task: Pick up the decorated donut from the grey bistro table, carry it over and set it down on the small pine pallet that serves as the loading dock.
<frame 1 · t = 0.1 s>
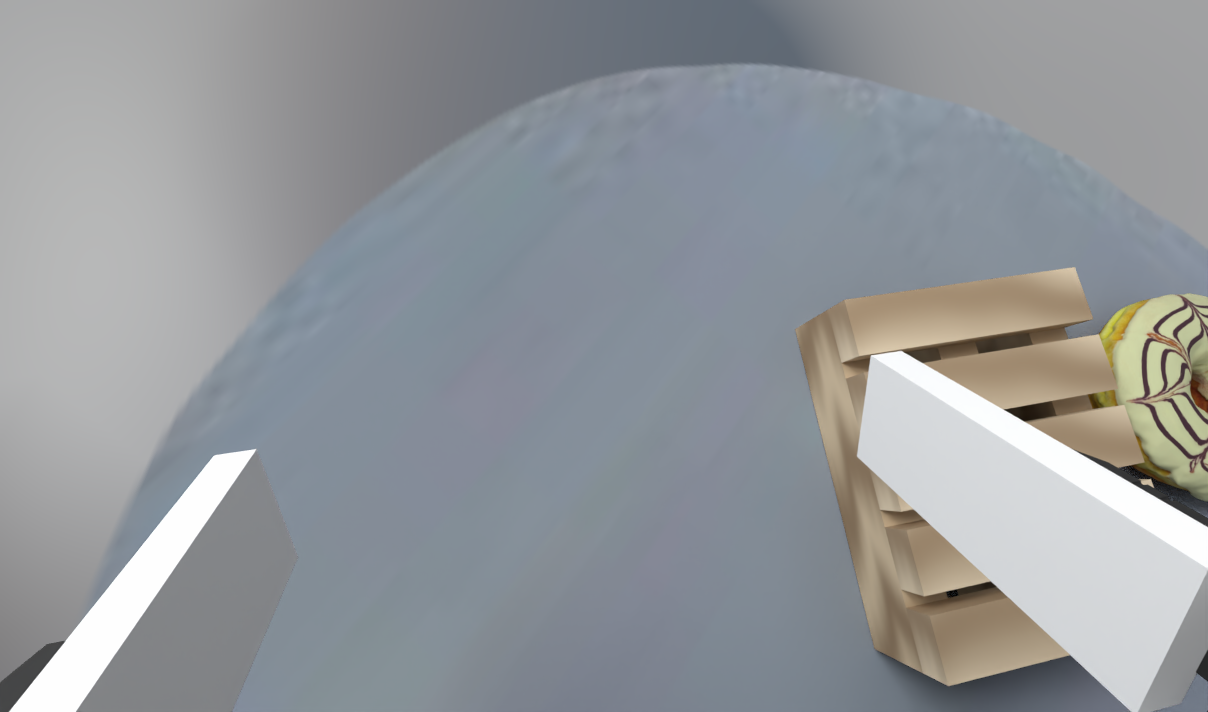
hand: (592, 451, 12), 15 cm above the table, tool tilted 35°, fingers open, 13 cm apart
pallet: (938, 459, 29), on the table
decorated donut: (1148, 400, 32), on the table
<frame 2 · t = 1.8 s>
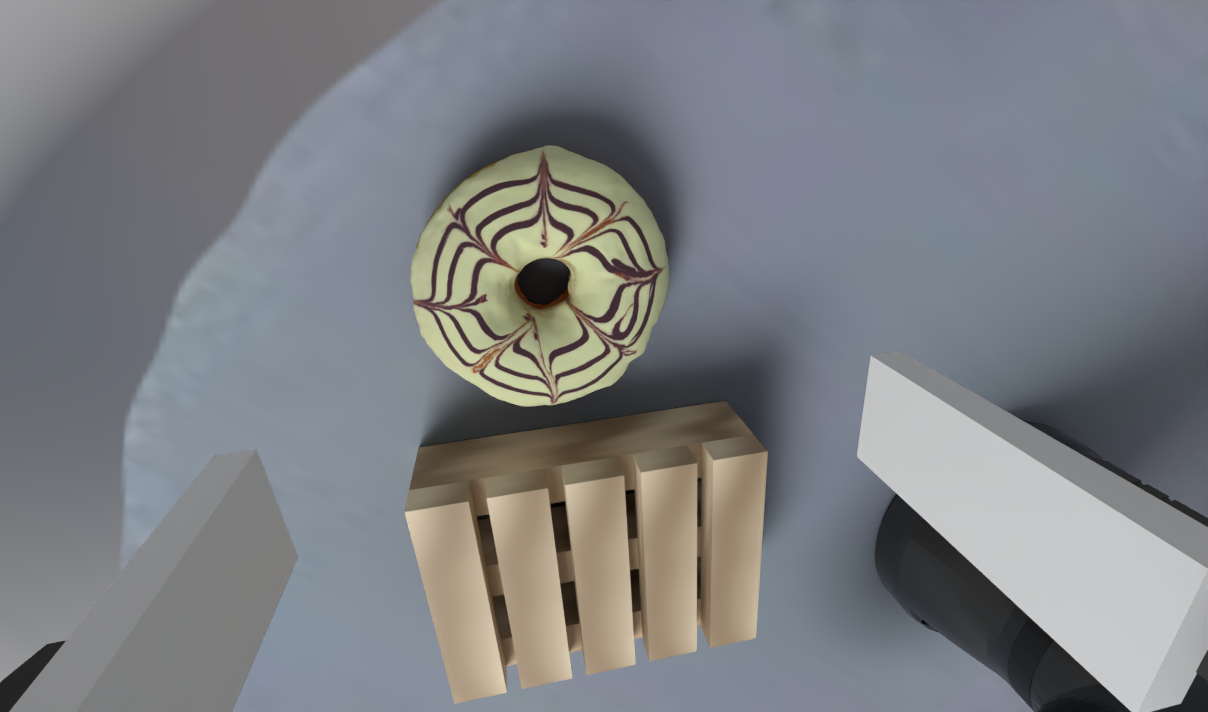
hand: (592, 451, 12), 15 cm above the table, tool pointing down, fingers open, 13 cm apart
pallet: (587, 515, 31), on the table
decorated donut: (541, 271, 26), on the table
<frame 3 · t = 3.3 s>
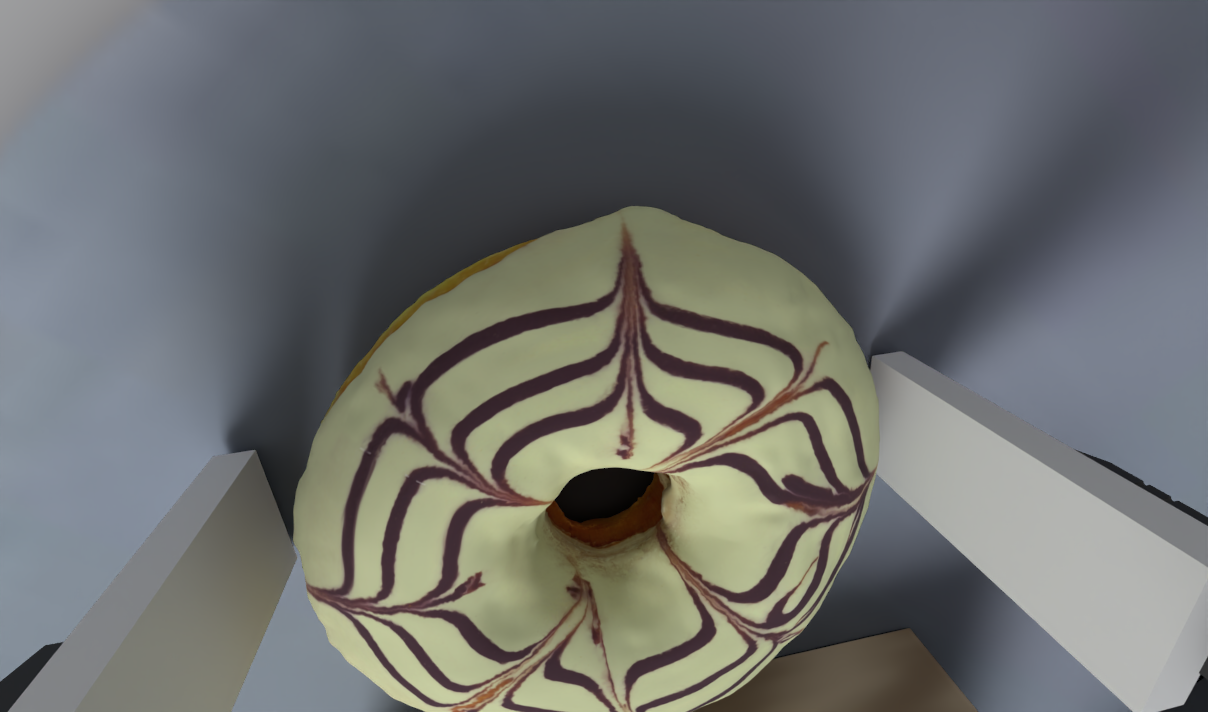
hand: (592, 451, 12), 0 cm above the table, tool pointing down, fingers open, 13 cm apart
decorated donut: (593, 442, 13), on the table
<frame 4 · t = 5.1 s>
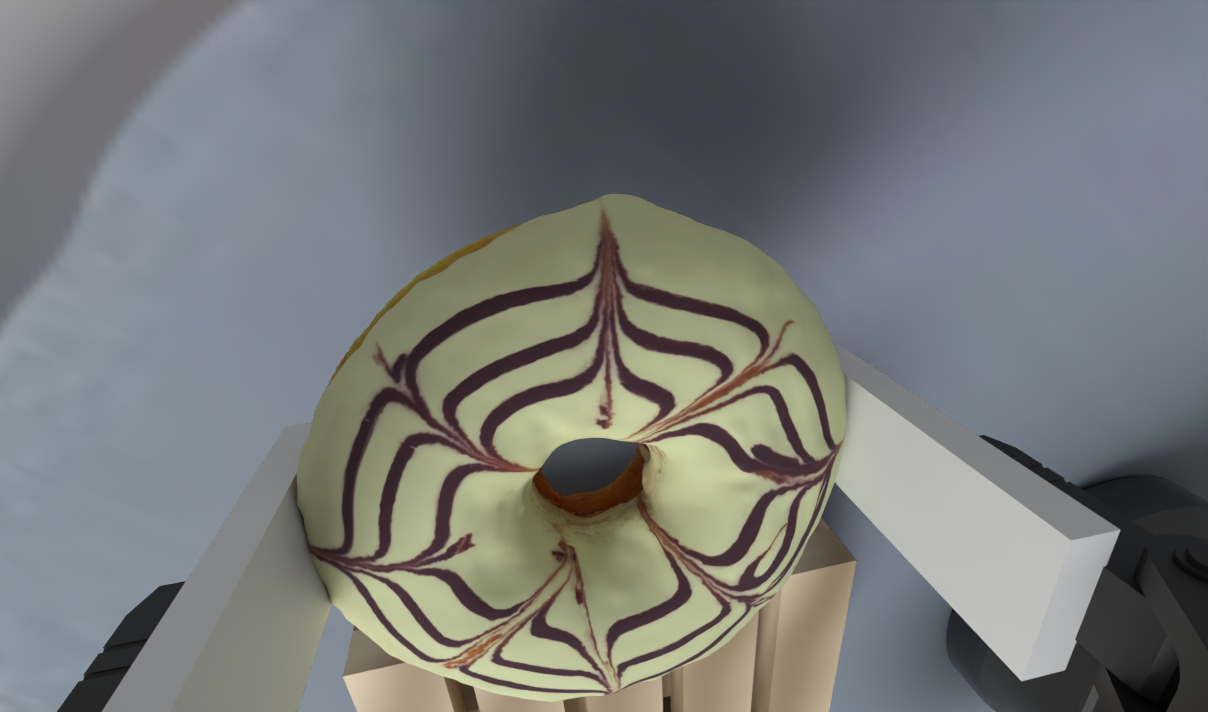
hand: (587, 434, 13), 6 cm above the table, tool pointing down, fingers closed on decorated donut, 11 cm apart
pallet: (599, 615, 24), on the table
decorated donut: (579, 420, 13), point 5 cm above the table, touching gripper
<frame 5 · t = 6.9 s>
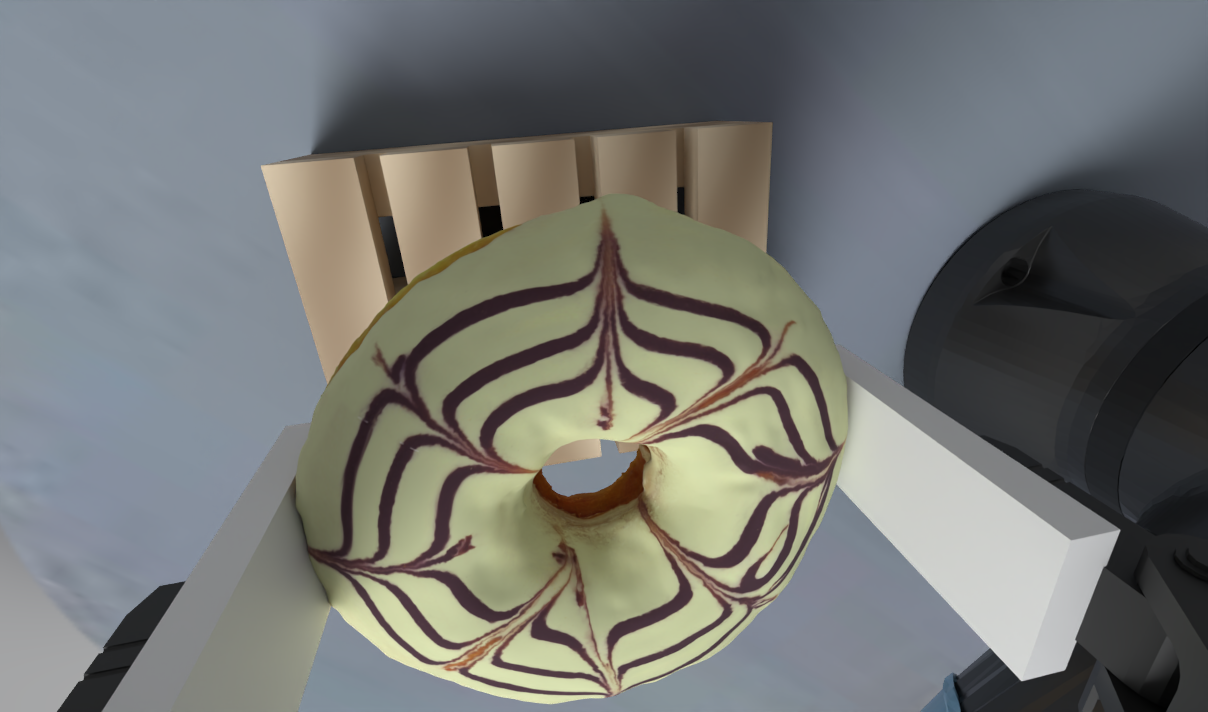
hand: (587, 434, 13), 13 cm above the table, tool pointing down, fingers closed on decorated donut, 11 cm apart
pallet: (541, 283, 24), on the table
decorated donut: (580, 420, 13), point 12 cm above the table, touching gripper
when the fingers open (6 cm above the table, at t = 9.0 s): decorated donut stays where it is, resting on pallet.
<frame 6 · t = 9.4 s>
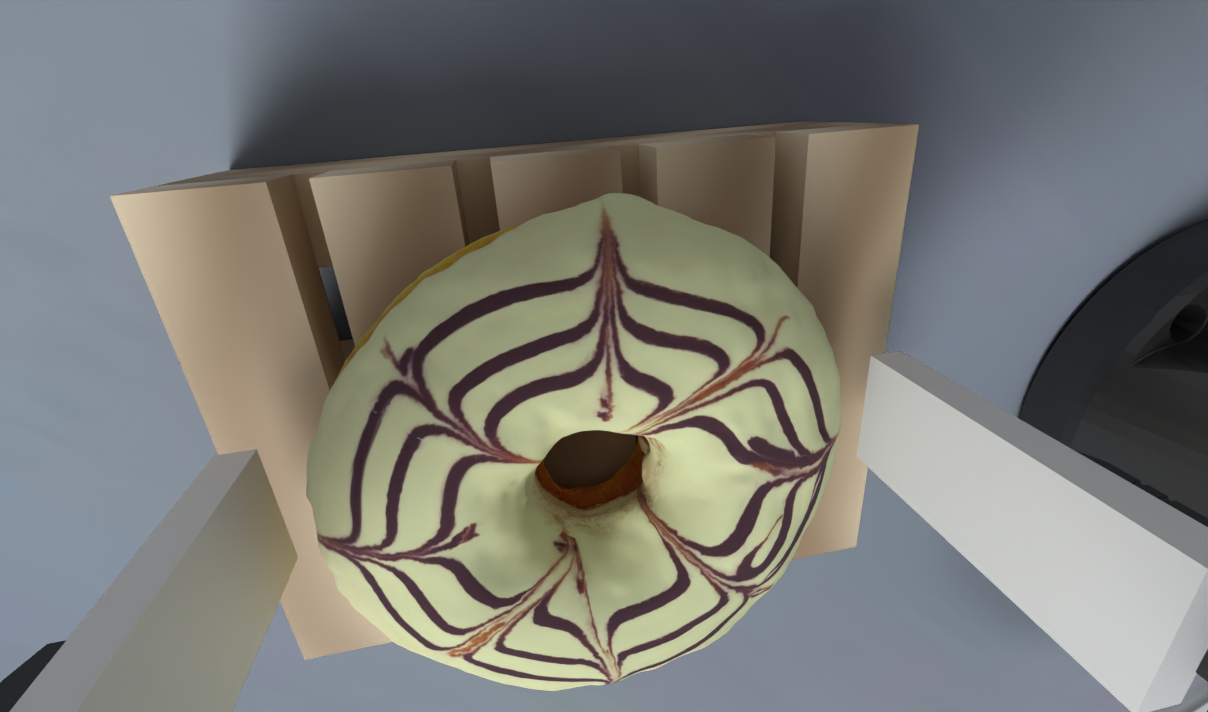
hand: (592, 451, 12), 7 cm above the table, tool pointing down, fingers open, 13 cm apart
pallet: (558, 341, 18), on the table
decorated donut: (580, 415, 14), point 5 cm above the table, touching pallet
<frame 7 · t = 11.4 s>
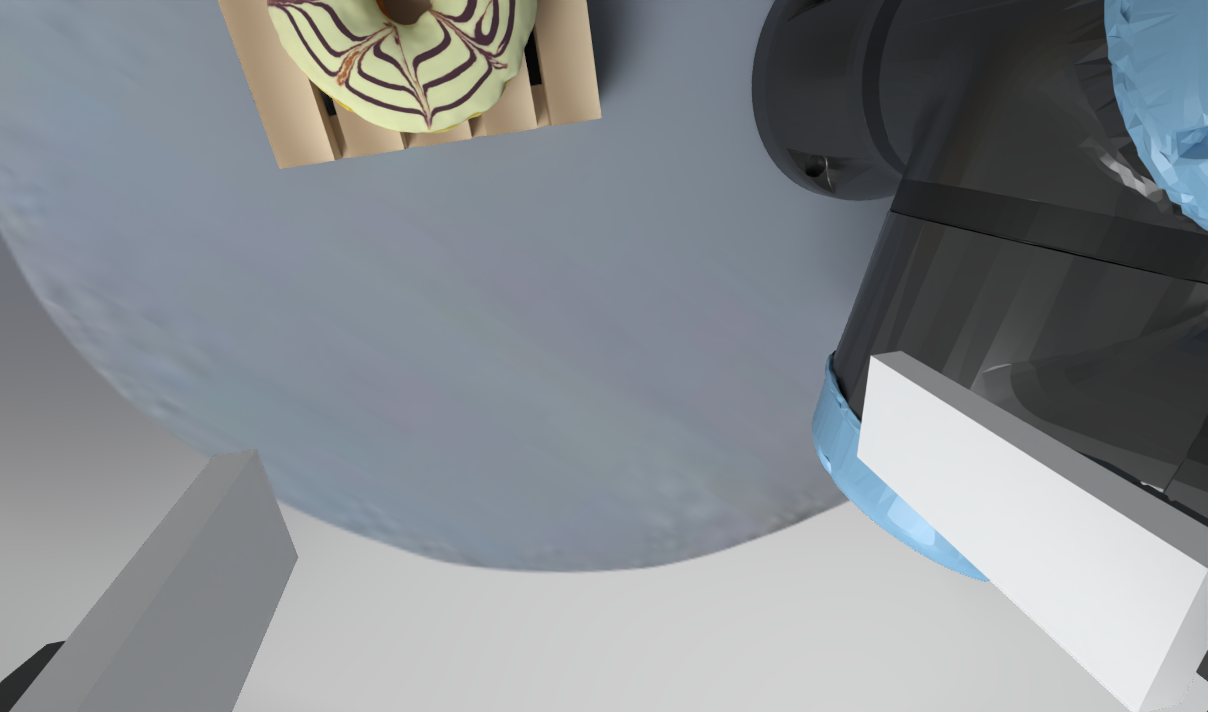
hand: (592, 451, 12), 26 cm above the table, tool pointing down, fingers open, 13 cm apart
pallet: (423, 19, 30), on the table
decorated donut: (413, 5, 26), point 5 cm above the table, touching pallet
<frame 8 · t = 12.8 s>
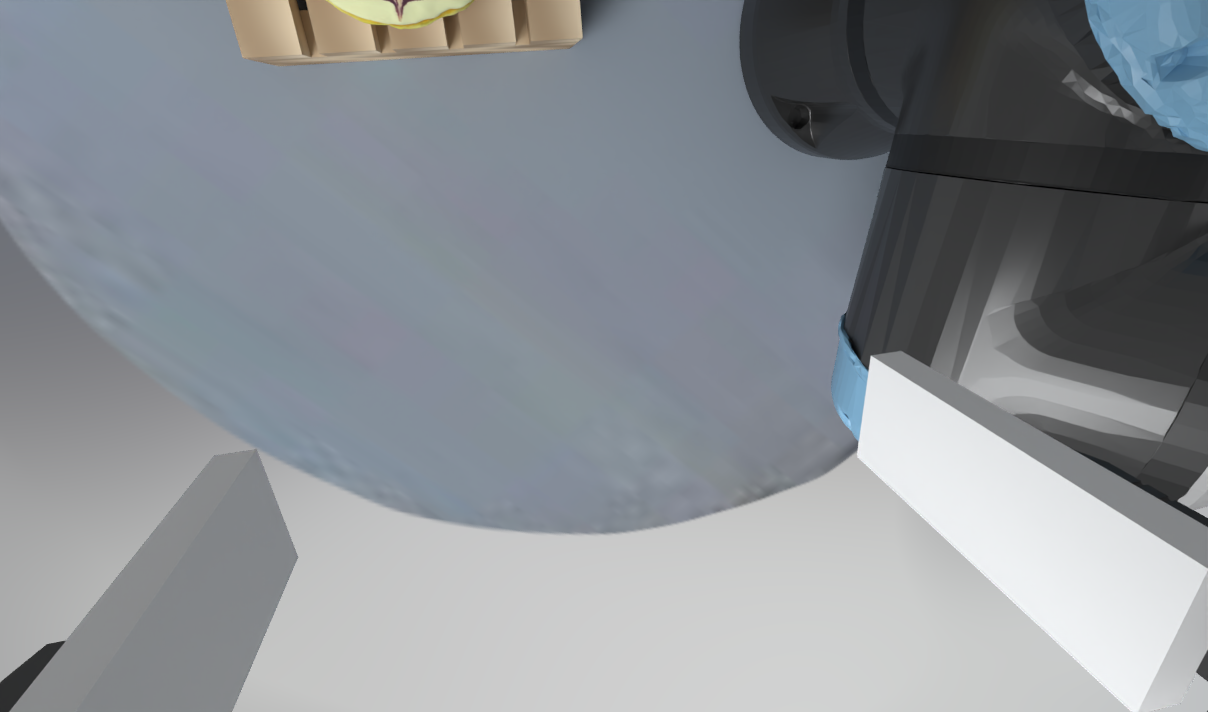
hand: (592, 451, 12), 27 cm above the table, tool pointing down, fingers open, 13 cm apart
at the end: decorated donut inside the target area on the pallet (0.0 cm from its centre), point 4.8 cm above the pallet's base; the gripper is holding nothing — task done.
